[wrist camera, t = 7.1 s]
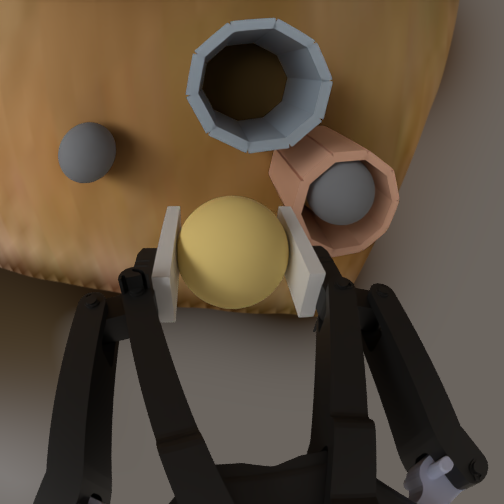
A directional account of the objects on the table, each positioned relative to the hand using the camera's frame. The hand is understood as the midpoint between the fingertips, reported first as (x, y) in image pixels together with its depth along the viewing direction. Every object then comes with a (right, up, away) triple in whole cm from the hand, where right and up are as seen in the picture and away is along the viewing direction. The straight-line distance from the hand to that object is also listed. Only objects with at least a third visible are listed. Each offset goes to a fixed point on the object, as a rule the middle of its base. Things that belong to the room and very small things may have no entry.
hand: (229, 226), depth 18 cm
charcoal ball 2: (+9, +3, +9) cm, 13 cm away
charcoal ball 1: (-15, +10, +9) cm, 20 cm away
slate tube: (+1, +15, +7) cm, 17 cm away
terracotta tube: (+8, +8, +14) cm, 18 cm away
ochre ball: (0, 0, 0) cm, 0 cm away
